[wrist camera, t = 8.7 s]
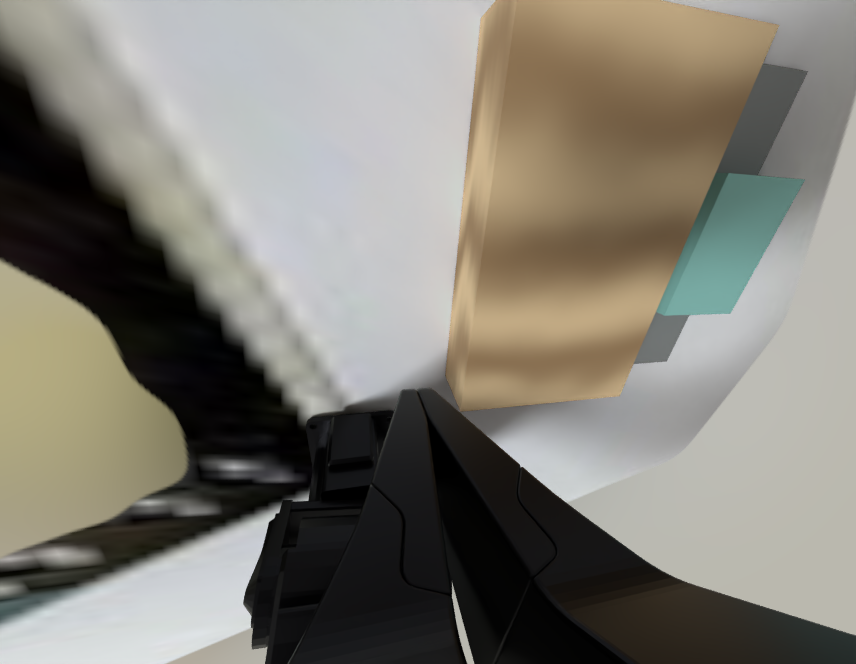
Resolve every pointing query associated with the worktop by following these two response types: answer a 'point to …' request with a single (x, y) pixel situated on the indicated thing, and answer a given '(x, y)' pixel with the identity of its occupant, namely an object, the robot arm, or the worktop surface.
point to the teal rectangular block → (727, 242)
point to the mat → (740, 157)
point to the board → (585, 186)
